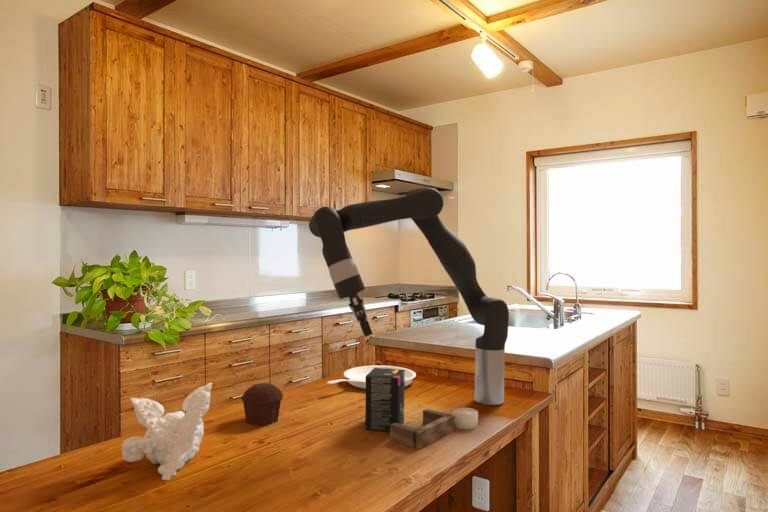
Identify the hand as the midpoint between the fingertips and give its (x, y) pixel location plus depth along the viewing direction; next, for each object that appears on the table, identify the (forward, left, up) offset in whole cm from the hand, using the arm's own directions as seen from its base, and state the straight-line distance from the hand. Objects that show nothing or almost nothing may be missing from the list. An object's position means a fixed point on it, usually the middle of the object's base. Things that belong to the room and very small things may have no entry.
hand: (368, 334), depth 139 cm
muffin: (+13, -28, -26) cm, 40 cm away
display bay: (-6, +13, -25) cm, 29 cm away
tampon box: (-6, +1, -26) cm, 27 cm away
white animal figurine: (+45, -21, -26) cm, 56 cm away
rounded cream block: (-20, +18, -26) cm, 37 cm away
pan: (-35, -29, -26) cm, 52 cm away
